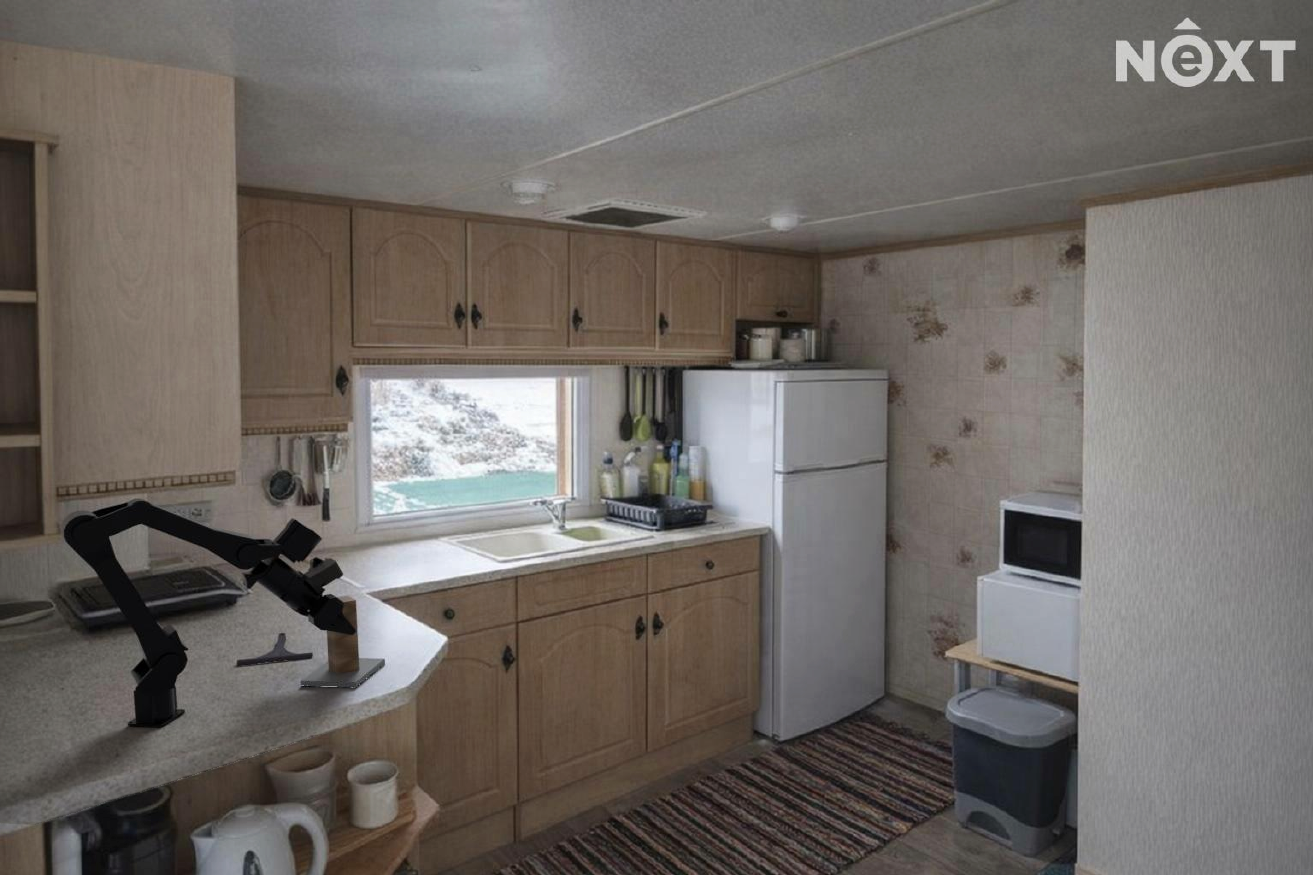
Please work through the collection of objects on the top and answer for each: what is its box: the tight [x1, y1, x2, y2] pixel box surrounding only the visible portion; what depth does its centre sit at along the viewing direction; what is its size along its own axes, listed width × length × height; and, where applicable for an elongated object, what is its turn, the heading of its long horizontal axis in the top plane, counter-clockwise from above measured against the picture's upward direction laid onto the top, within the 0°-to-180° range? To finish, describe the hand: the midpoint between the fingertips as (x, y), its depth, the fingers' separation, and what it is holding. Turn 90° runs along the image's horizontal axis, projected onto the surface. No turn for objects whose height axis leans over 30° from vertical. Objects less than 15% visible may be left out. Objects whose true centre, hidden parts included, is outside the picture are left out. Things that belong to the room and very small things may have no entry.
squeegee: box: [236, 632, 314, 667], centre depth 187 cm, size 14×15×3 cm
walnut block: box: [326, 595, 360, 675], centre depth 171 cm, size 4×4×14 cm
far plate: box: [300, 657, 386, 689], centre depth 172 cm, size 13×11×1 cm
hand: (346, 627), depth 171 cm, fingers open, 9 cm apart
